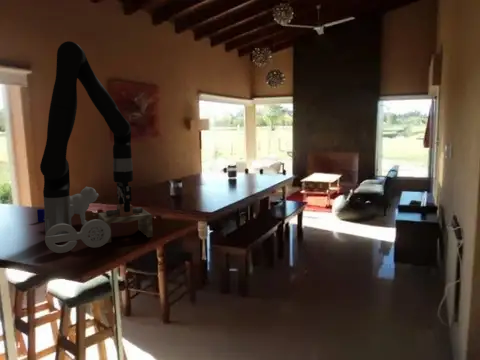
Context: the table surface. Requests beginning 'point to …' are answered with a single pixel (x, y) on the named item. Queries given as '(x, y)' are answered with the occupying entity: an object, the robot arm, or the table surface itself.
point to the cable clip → (41, 215)
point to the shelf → (140, 215)
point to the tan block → (122, 213)
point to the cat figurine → (82, 202)
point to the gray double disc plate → (78, 235)
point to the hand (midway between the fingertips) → (124, 209)
